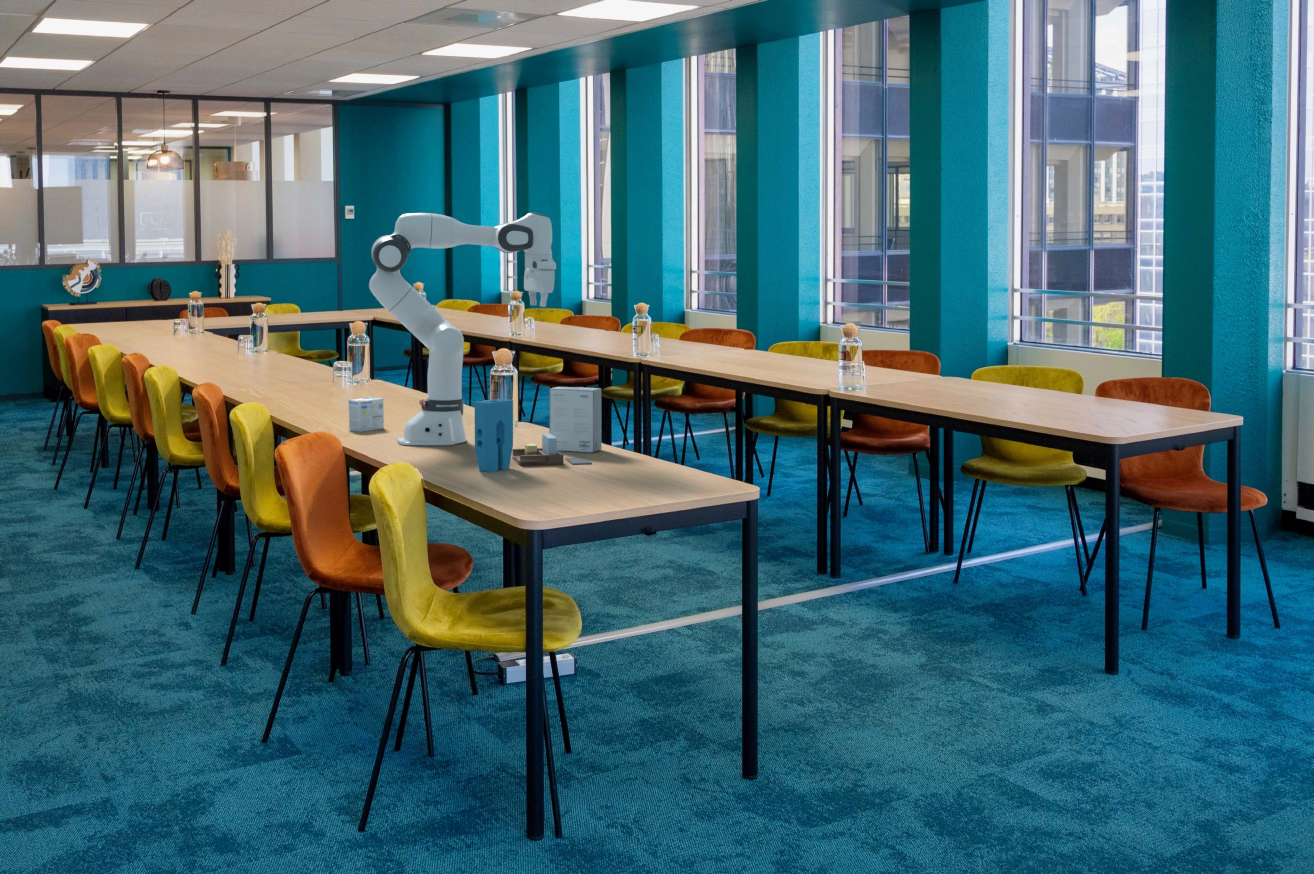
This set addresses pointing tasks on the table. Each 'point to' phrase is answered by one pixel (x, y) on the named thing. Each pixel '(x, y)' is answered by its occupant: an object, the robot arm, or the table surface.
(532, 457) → the rack
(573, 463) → the mat
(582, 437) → the hard drive box
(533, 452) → the offcut lower
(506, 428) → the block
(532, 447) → the offcut upper
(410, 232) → the robot arm
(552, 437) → the light blue rectangular block
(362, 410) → the light bulb box
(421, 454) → the table surface
